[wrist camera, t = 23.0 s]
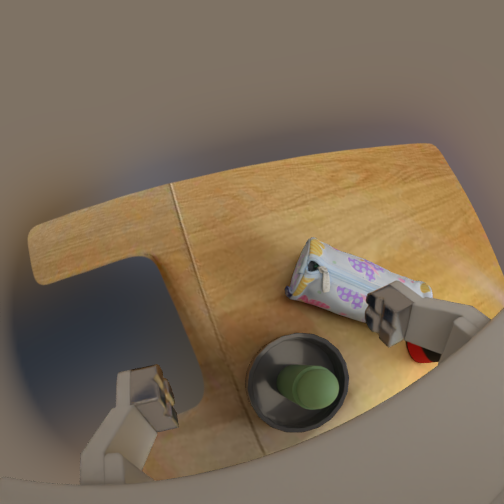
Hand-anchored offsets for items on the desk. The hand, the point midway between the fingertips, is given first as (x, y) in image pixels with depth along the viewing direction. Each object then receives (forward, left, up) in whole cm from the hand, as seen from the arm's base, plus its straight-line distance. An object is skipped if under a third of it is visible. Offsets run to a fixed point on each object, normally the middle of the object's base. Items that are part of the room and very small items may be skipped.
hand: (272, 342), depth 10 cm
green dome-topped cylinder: (+5, -8, -29) cm, 30 cm away
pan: (+5, -8, -29) cm, 31 cm away
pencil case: (+19, -2, -29) cm, 35 cm away
